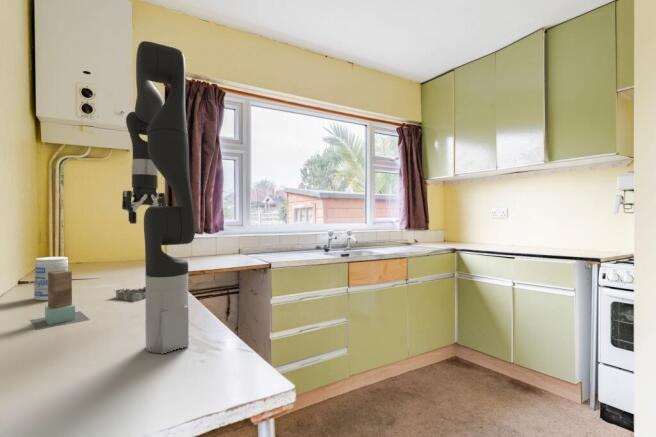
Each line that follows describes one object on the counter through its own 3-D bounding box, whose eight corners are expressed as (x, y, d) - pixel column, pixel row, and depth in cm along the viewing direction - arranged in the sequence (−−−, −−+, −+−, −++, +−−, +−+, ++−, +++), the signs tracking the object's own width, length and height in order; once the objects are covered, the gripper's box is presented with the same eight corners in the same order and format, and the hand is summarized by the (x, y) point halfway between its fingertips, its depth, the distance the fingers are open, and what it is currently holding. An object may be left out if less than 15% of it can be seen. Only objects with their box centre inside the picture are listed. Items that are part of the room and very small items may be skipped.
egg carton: (151, 297, 127) (151, 286, 127) (135, 302, 120) (135, 290, 120) (128, 295, 130) (128, 284, 130) (111, 299, 123) (111, 288, 123)
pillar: (71, 305, 100) (71, 271, 99) (56, 308, 96) (56, 273, 96) (63, 303, 101) (63, 270, 101) (48, 307, 97) (47, 272, 97)
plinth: (75, 319, 99) (75, 306, 99) (48, 324, 94) (48, 310, 94) (70, 315, 103) (70, 302, 103) (45, 319, 98) (45, 306, 98)
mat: (90, 320, 99) (90, 319, 99) (36, 331, 90) (36, 329, 90) (80, 312, 107) (80, 311, 107) (30, 321, 98) (30, 319, 98)
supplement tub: (30, 302, 118) (30, 260, 118) (38, 296, 126) (38, 257, 126) (65, 299, 123) (65, 258, 122) (70, 293, 131) (70, 255, 131)
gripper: (132, 171, 104) (133, 224, 104) (170, 176, 117) (170, 223, 117) (116, 172, 107) (116, 223, 107) (155, 176, 120) (155, 222, 120)
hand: (145, 223), depth 112 cm, fingers open, 8 cm apart
